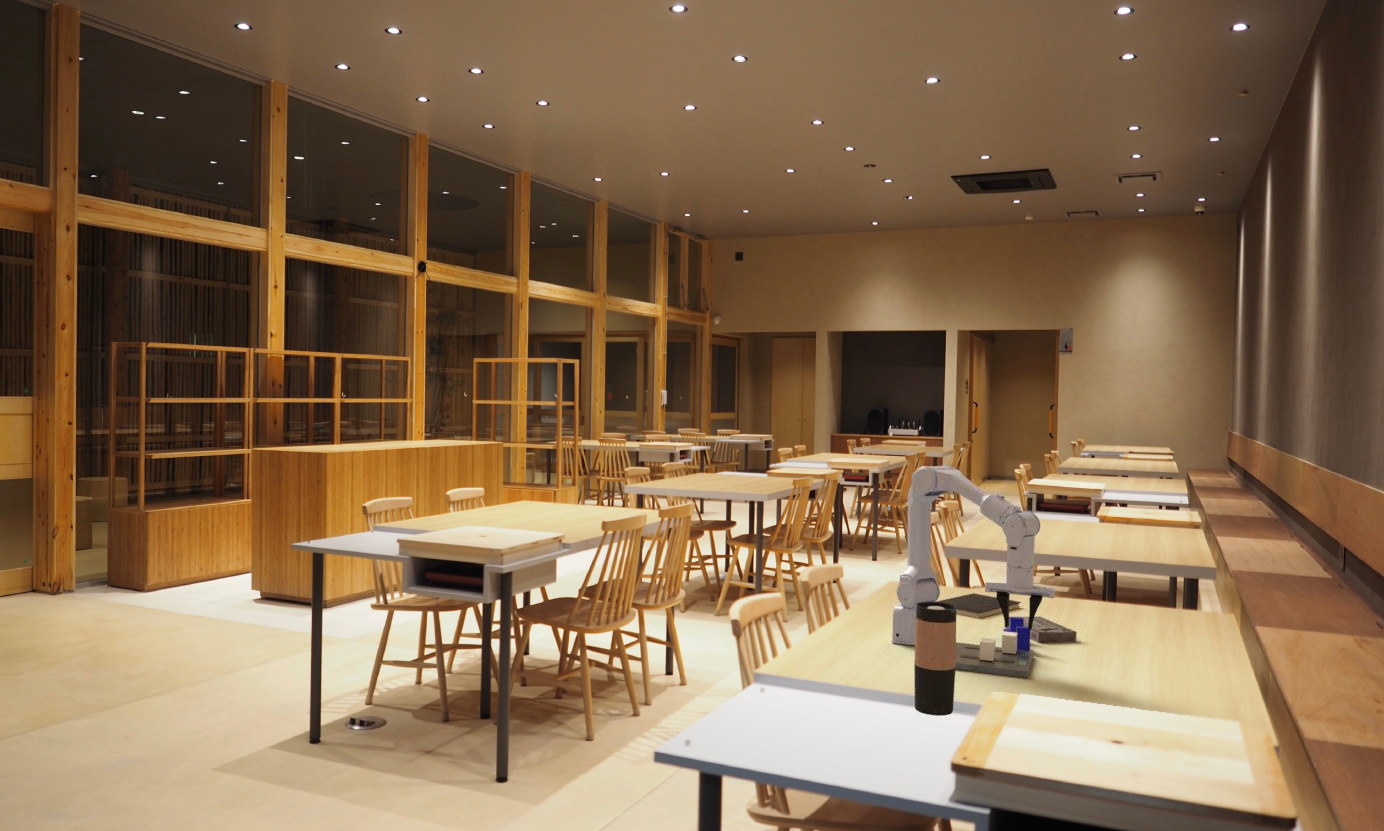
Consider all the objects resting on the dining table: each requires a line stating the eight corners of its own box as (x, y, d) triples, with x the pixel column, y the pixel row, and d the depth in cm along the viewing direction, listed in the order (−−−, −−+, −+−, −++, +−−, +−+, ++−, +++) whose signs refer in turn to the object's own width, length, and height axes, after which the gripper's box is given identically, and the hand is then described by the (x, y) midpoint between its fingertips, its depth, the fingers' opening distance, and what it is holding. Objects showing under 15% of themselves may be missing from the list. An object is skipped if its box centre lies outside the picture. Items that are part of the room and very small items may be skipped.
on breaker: (1001, 652, 223) (1002, 635, 223) (1003, 648, 227) (1003, 631, 227) (1015, 653, 222) (1015, 636, 222) (1016, 649, 226) (1017, 632, 226)
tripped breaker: (979, 659, 217) (979, 641, 217) (981, 655, 220) (981, 637, 220) (993, 661, 216) (993, 643, 215) (995, 656, 219) (995, 639, 219)
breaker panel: (941, 667, 216) (942, 660, 215) (953, 648, 233) (953, 641, 233) (1027, 678, 209) (1027, 670, 208) (1032, 657, 226) (1033, 650, 226)
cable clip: (1003, 640, 243) (1003, 616, 243) (1022, 641, 242) (1022, 617, 242) (1009, 652, 231) (1010, 627, 231) (1029, 653, 230) (1030, 628, 230)
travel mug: (908, 703, 189) (910, 601, 189) (946, 703, 190) (948, 601, 190) (920, 716, 182) (923, 610, 181) (960, 716, 182) (963, 610, 182)
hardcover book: (1020, 609, 282) (1020, 601, 282) (978, 620, 266) (978, 612, 266) (971, 600, 294) (971, 592, 294) (928, 610, 278) (928, 602, 278)
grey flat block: (1039, 627, 259) (1039, 615, 259) (1077, 643, 242) (1077, 631, 242) (1002, 627, 257) (1003, 616, 257) (1038, 644, 240) (1038, 631, 240)
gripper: (984, 566, 214) (982, 627, 214) (1054, 571, 209) (1052, 634, 209) (987, 561, 221) (986, 620, 221) (1055, 567, 215) (1054, 627, 215)
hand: (1018, 627), depth 215 cm, fingers open, 4 cm apart
